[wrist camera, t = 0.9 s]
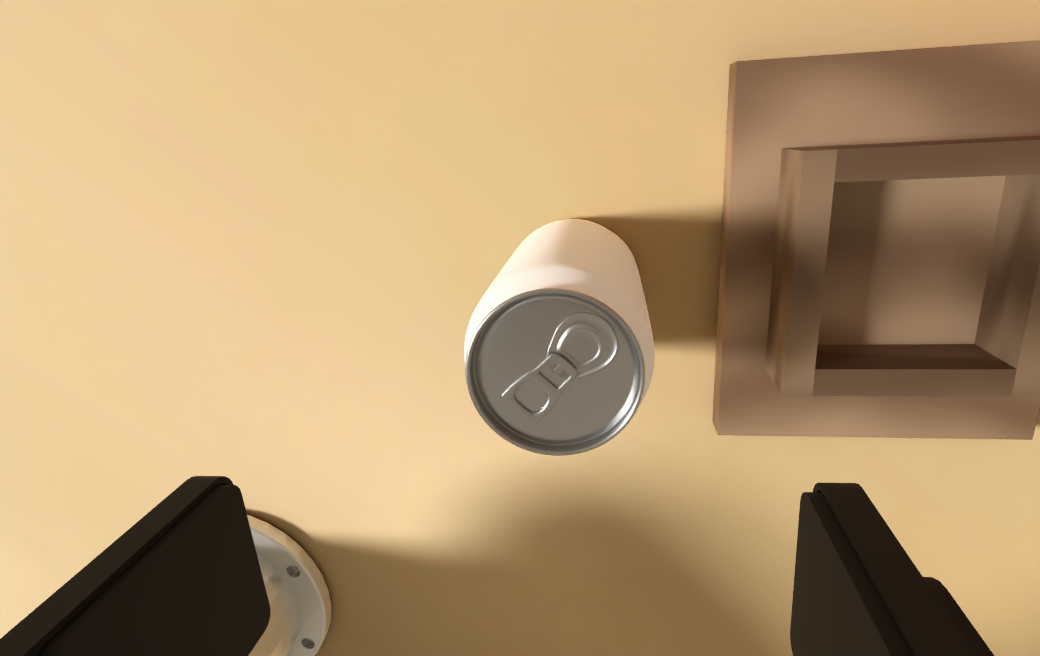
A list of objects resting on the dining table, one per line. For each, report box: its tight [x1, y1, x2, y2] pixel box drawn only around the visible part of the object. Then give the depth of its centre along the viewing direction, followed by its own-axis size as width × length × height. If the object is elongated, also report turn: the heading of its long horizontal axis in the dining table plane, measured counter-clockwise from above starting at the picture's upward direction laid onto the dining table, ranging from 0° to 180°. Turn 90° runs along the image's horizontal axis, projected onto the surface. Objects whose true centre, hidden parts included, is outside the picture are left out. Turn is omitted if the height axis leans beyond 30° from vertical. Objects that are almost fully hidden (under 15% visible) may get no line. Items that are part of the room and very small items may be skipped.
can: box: [464, 219, 654, 456], centre depth 25 cm, size 6×6×12 cm
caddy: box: [713, 41, 1040, 440], centre depth 26 cm, size 17×14×4 cm
